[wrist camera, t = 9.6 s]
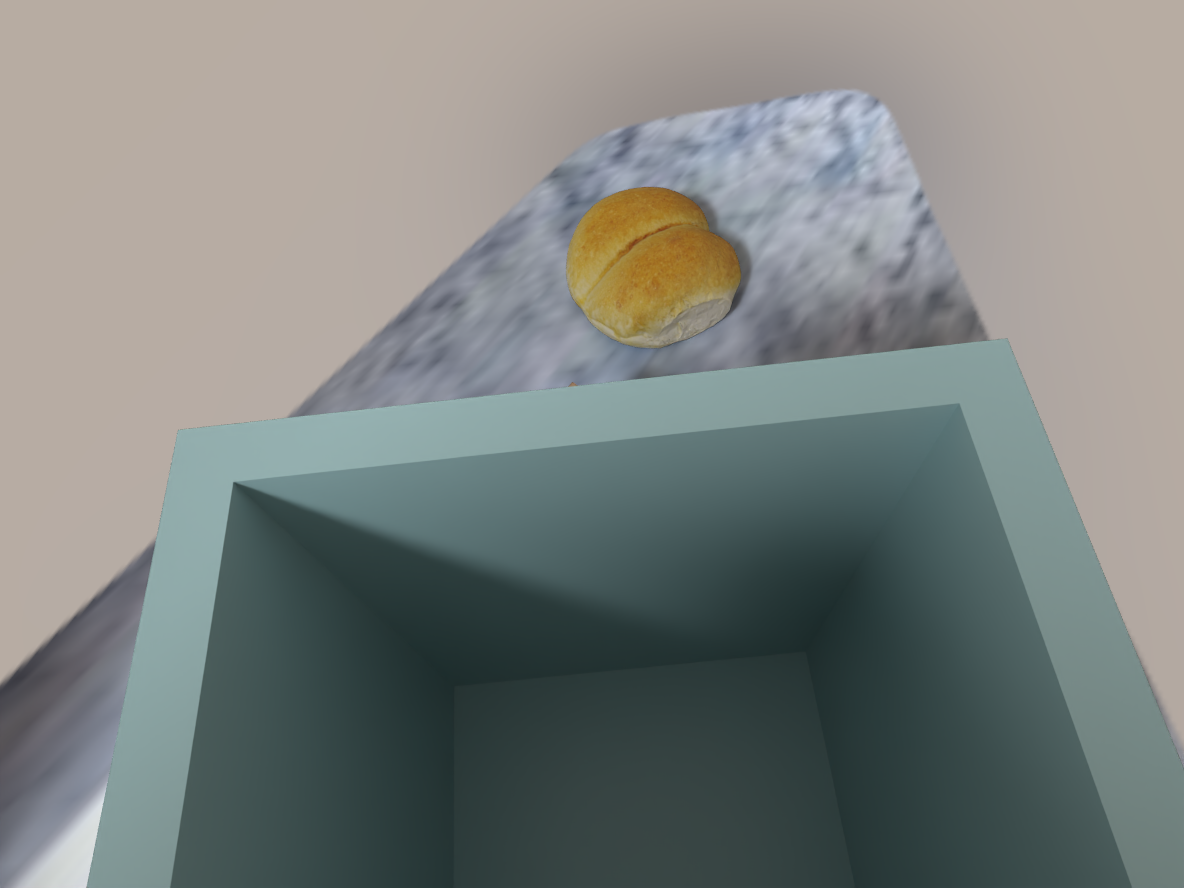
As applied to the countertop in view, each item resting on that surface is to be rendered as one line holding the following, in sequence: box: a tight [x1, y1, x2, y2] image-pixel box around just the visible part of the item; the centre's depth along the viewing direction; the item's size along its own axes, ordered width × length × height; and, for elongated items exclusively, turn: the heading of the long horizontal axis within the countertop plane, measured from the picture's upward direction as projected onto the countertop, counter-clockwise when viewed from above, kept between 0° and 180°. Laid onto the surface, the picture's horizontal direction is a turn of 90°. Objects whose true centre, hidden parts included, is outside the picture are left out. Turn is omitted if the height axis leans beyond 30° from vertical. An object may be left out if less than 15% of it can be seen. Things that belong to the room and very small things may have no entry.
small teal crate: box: [87, 338, 1184, 888], centre depth 12 cm, size 10×10×12 cm
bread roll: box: [566, 187, 741, 348], centre depth 40 cm, size 8×9×4 cm
